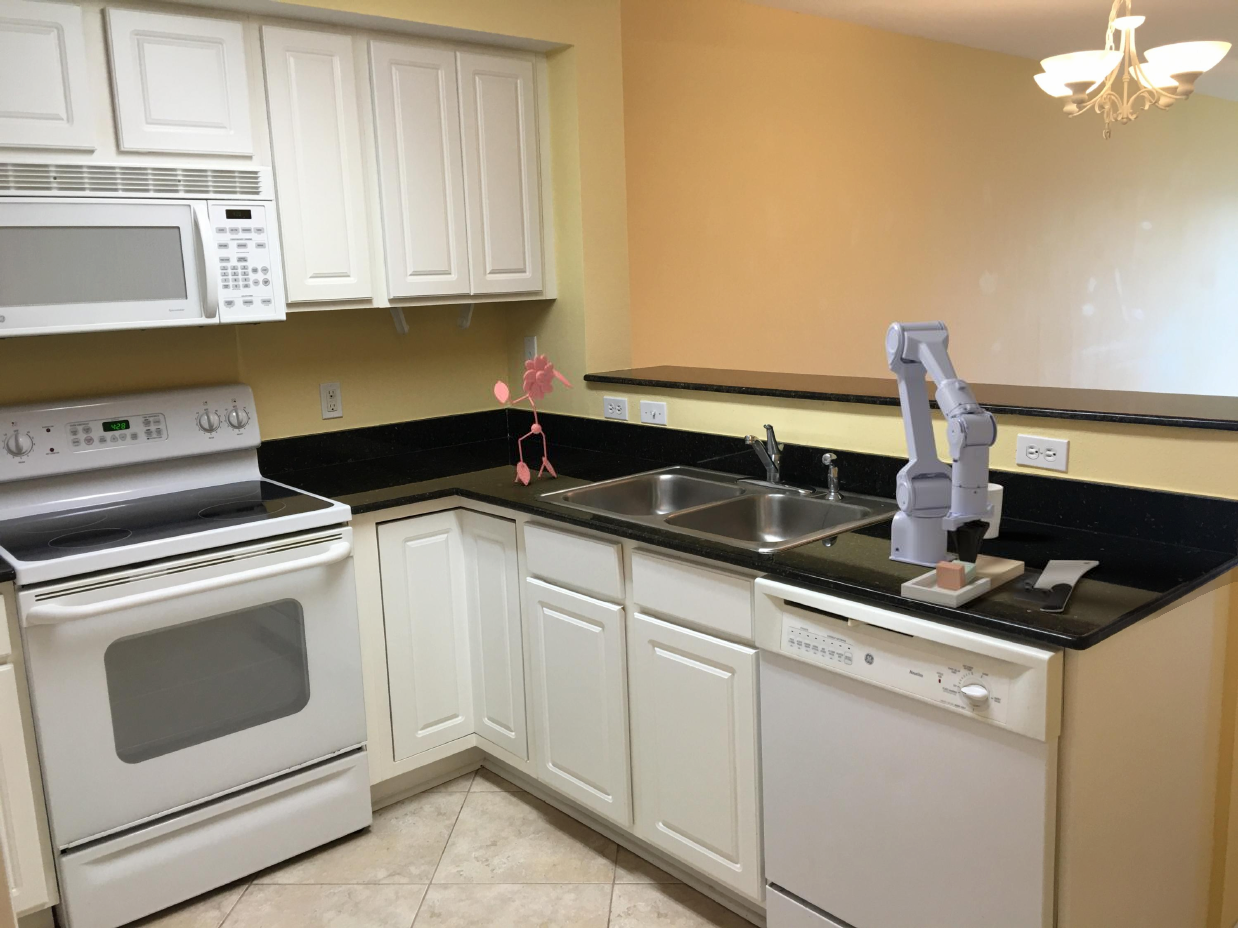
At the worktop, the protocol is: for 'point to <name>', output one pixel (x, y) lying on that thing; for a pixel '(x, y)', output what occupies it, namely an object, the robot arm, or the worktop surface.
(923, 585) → the grey tray
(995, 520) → the white cup
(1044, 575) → the kitchen cleaver
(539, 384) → the figurine
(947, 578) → the terracotta tile
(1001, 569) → the wooden board
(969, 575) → the sage tile
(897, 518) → the robot arm
